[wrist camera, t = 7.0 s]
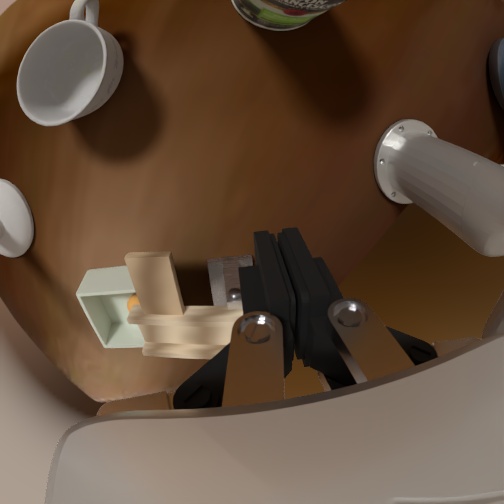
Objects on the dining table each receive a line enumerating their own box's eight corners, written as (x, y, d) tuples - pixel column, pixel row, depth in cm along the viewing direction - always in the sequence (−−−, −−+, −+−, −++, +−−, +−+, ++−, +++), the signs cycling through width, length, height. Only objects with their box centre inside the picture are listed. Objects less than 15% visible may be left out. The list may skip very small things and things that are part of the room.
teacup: (109, 127, 27) (81, 138, 20) (40, 107, 23) (2, 116, 16) (159, 18, 21) (145, -3, 14) (83, 4, 17) (53, -13, 10)
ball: (133, 307, 35) (119, 298, 36) (141, 325, 36) (126, 316, 38) (151, 293, 37) (136, 285, 39) (157, 311, 39) (142, 303, 40)
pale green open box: (170, 260, 37) (166, 286, 32) (184, 318, 43) (184, 344, 38) (87, 269, 36) (75, 293, 31) (111, 323, 42) (104, 348, 37)
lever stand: (251, 251, 38) (262, 294, 31) (253, 311, 44) (263, 355, 37) (206, 256, 38) (208, 300, 30) (216, 315, 44) (219, 361, 36)
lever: (291, 244, 28) (295, 265, 25) (285, 342, 36) (287, 363, 33) (114, 250, 28) (101, 268, 25) (148, 341, 36) (142, 360, 33)
